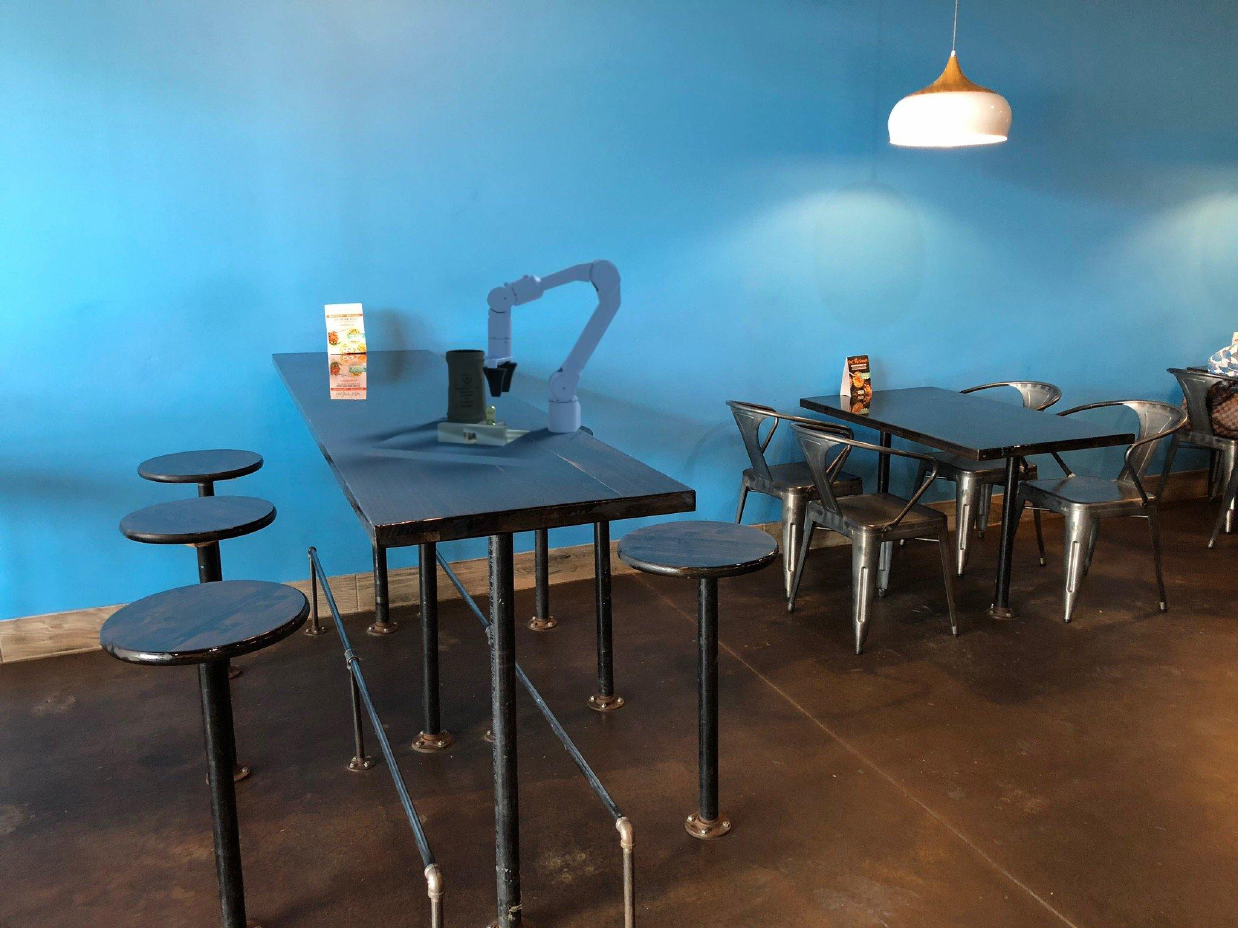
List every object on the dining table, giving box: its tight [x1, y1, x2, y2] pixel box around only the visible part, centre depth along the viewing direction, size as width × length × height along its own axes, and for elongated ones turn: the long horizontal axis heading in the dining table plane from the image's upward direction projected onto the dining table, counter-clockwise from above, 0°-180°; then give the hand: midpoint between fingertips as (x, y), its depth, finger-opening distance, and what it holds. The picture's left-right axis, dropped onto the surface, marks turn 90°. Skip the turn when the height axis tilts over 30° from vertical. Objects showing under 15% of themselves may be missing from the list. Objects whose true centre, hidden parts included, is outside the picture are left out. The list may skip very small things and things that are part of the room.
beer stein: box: [445, 348, 487, 424], centre depth 243 cm, size 15×11×20 cm
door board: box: [436, 421, 531, 447], centre depth 224 cm, size 18×16×6 cm
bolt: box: [475, 405, 497, 438], centre depth 224 cm, size 8×2×6 cm, turn 165°
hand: (500, 394), depth 229 cm, fingers open, 7 cm apart
